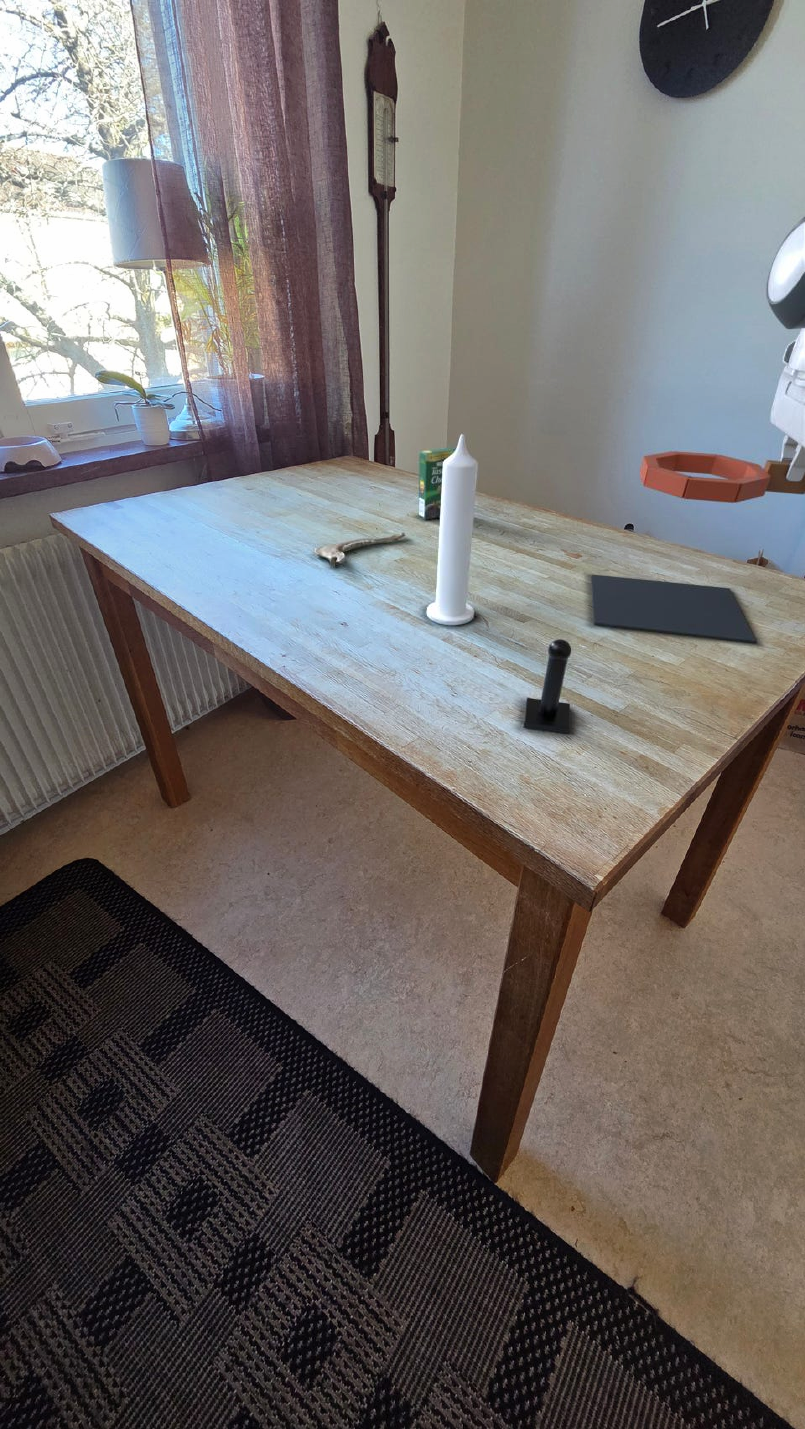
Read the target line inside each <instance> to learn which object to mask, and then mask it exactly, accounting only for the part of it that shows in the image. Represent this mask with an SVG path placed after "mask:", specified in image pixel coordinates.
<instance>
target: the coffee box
mask: <svg viewBox="0 0 805 1429" xmlns="http://www.w3.org/2000/svg"><path fill="white" fill-rule="evenodd" d="M456 449H457V447H454V446H449V447H443V448H442V447H441V448H436V449H429V450H421V451H419V453H418V462H419V463H418V508H417V510H418V517H419V518H420V519H423V520H424V521H426V520H432V519H437V518H440V512H441V493H442V474H443V462H444V460H445V459H447V458H448V457H450V456H451V455H452V454H453V453H454V452H455V451H456Z"/></svg>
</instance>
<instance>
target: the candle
mask: <svg viewBox="0 0 805 1429" xmlns="http://www.w3.org/2000/svg"><path fill="white" fill-rule="evenodd" d="M456 448H457V449H456V451H455V452H454V453H453V454H452V455H451V456H450V457H448V458H447V459H445V460H444V462H443V474H442V493H441V512H440V517H439V531H438V532H439V533H438V550H437V551H438V553H437V571H436V572H437V574H436V589H435V590H436V593H435V601H433V602H431V603H430V604H429V605H428V606H427V608H426V616H427V617H428V618H429V620H430V621H432V622H434V623H437V624H440V625H444V626H445V625H446V626H459V625H464V624H467V623H469V622H471V621H472V620H473V619H474V616H475V610H474V608H473V606H472V605H470V604H469V603H467V601H468V587H469V578H470V564H471V552H472V540H473V539H472V538H473V529H474V519H475V518H474V516H475V506H476V505H475V503H476V494H477V483H478V470H479V462H478V460H476V459H475V458H474V457H473V456H472V455H471V454H470V453H469V452H468V449H467V444H466V436H465V434H463V433H462V434H460V436H459V440H458V443H457V446H456Z"/></svg>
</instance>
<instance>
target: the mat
mask: <svg viewBox="0 0 805 1429" xmlns="http://www.w3.org/2000/svg"><path fill="white" fill-rule="evenodd" d="M590 582H591V599H592V613H593V616H592V617H593V625H594V626H601V627H609V628H617V629H626V630H634V631H644V632H652V633H653V632H654V633H660V634H669V635H679V636H688V637H696V638H706V639H712V640H713V639H715V640H722V641H723V640H724V641H731V642H739V643H748V644H756V642H757V640H756V638H755V636H754V634H753V632H752V630H751V628H750V626H749V624H748V622H747V620H746V618H745V616H744V614H743V612H742V610H741V608H740V606H739V604H738V602H737V600H736V598H735V596H734V594H733V592H732V590H731V588H729V587H722V586H711V585H703V584H702V585H701V584H693V583H692V584H691V583H690V584H689V583H680V582H672V581H660V580H652V579H651V580H650V579H640V578H632V577H622V576H613V575H600V574H591V575H590Z"/></svg>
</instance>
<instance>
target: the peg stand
mask: <svg viewBox="0 0 805 1429" xmlns="http://www.w3.org/2000/svg"><path fill="white" fill-rule="evenodd" d="M547 648H548V649H547V652H548V659H547V664H546V668H545V670H546V671H545V675H544V681H543V686H542V691H541V696H540V699H539V698H533V697H531V698H530V697H526V701H525V709H524V718H523V729H524V728H525V729H531V730H537V731H544V732H552V733H557V734H563V735H569V734H570V729H571V728H570V726H571V703H568V702H561V701H560V698H561V694H562V689H563V685H564V679H565V674H566V669H567V666H568V665H567V664H568V661H569V658H570V656H571V654H572V646H571V643H569V642H568V641H567V640H565V639H563V638H558V639H555V640H553V641H552V642H551V643H550V644H549V645H548V647H547Z"/></svg>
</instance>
